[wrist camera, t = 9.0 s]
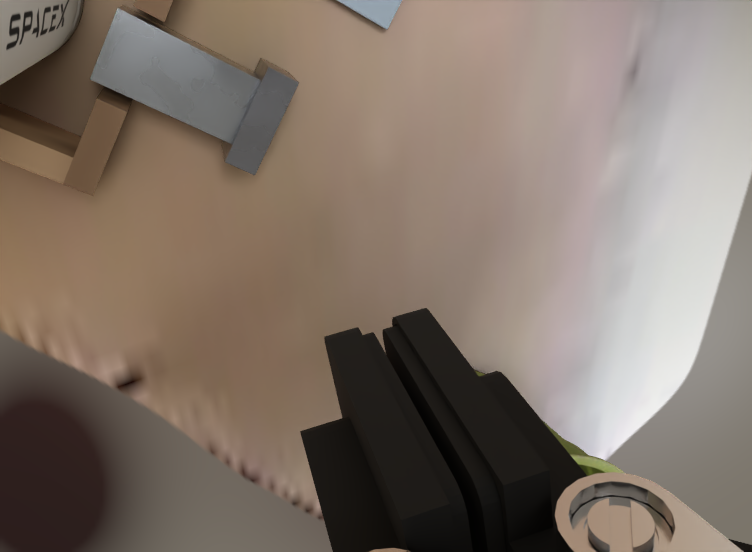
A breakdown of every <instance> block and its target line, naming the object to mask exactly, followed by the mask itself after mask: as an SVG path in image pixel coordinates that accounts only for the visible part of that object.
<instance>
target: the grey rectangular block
mask: <svg viewBox="0 0 752 552" xmlns="http://www.w3.org/2000/svg"><path fill="white" fill-rule="evenodd" d="M90 80H92V81H95V82H97V83H99V84H101V85H103V86H105V87H108V88H110V89H112V90H114V91H116V92H119V93H121V94H123V95H125V96H127V97H130V98H132V99H134V100H136V101H138V102H140V103H143V104H145V105H147V106H149V107H151V108H154V109H156V110H158V111H160V112H162V113H165V114H167V115H169V116H171V117H173V118H175V119H178V120H180V121H182V122H184V123H186V124H189V125H191V126H193V127H195V128H197V129H200V130H202V131H204V132H206V133H208V134H211V135H213V136H215V137H217V138H219V139H221V140H223V142H222V144H221V146H222V151H223V156H224V161H225V162H226V163H228V164H230V165H233V166H235V167H237V168H239V169H242V170H244V171H246V172H248V173H251V174H253V175H255V174H256V172H257V170H258V168H259V166H260V164H261V162H262V159H263V157H264V155H265V153H266V151H267V149H268V147H269V145H270V143H271V141H272V138H273V136H274V134H275V132H276V130H277V128H278V126H279V124H280V122H281V120H282V117H283V115H284V113H285V111H286V109H287V107H288V105H289V103H290V101H291V99H292V96H293V94H294V92H295V90H296V88H297V86H298V84H299V82H298V81H297V80H296V79H295V78H294V77H293V76H292V75H291V74H290V73H289V72H287V71H285V70H283V69H281V68H279V67H277V66H275V65H273V64H272V63H270V62H268V61H266V60H264V59H262V58H261V59H260V61H259V63H258V65H257V67H256V70H255V72H253V71H251V70H249V69H247V68H245V67H243V66H241V65H239V64H237V63H235V62H233V61H231V60H230V59H228V58H226V57H224V56H222V55H220V54H218V53H216V52H214V51H212V50H210V49H208V48H206V47H204V46H202V45H200V44H198V43H196V42H194V41H192V40H190V39H188V38H186V37H185V36H183V35H181V34H179V33H177V32H175V31H173V30H171V29H169V28H167V27H165V26H163V25H161V24H159V23H157V22H155V21H153V20H151V19H149V18H147V17H145V16H143V15H141V14H140V13H138V12H136V11H134V10H132V9H130V8H128V7H126V6H124V5H122V6H120V7H118V8H117V11H116V13H115V16H114V19H113V21H112V24H111V26H110V29H109V31H108V34H107V37H106V39H105V42H104V44H103V47H102V49H101V52H100V55H99V57H98V60H97V62H96V65H95V67H94V70H93V73H92V75H91V78H90Z"/></svg>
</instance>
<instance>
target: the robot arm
mask: <svg viewBox="0 0 752 552" xmlns="http://www.w3.org/2000/svg"><path fill="white" fill-rule="evenodd" d="M392 325H393V327H390V328H386V329H383V340H384V345H385V351H386V354H385V352H384V350H383V348H382V346H381V345H380V343H379V341H378V339H377V337H376V336H375V334H374V333H373V332H372V333H369V334H366V335H362V333H361V331H360V330H359V328H353V329H350V330H346V331H343V332H339V333H336V334H332V335H329V336H325V344H326V349H327V353H328V358H329V362H330V366H331V371H332V375H333V379H334V383H335V388H336V392H337V396H338V401H339V405H340V409H341V413H342V419H339V420H336V421H332V422H329V423H326V424H322V425H319V426H316V427H313V428H309V429H306V430H303V431H300V432H301V436H302V440H303V444H304V447H305V451H306V455H307V458H308V462H309V466H310V469H311V473H312V477H313V480H314V484H315V488H316V491H317V495H318V499H319V502H320V506H321V510H322V513H323V517H324V521H325V524H326V528H327V532H328V535H329V539H330V542H331V547H332V550H333V552H752V545H749V544H745V543H742V542H738V541H734V540H730V539H727V538H726V537H725V536H723V535H722V534H721V533H720V532H719V531H717V530H716V529H715V528H714V527H712V526H711V525H710V524H709V523H707V522H706V521H705V520H704V519H702V518H701V517H700V516H699V515H697V514H696V513H695V512H694V511H692V510H691V509H690V508H689V507H688V506H686V505H685V504H684V503H682V502H681V501H680V500H679V499H678V498H676V497H675V496H674V495H673V494H671V493H670V492H669V491H667V490H666V489H664V488H662V487H661V486H659V485H658V484H656V483H654V482H653V481H650V480H647V479H644V478H642V477H639V476H636V475H632V474H625V473H617V472H609V473H597V474H593V475H590V476H587V475H586V473H585V472H584V471H583V470H582V468H581V467H580V466H579V465H578V464H577V462H576V461H575V460H574V459H573V458H572V456H571V455H570V454H569V453H568V452H567V450H566V449H565V448H564V447H563V445H562V444H561V443H560V442H559V441H558V439H557V438H556V437H555V436H554V435H553V433H552V432H551V431H550V430H549V428H548V427H547V426H546V425H545V424H544V422H543V421H542V420H541V419H540V418H539V416H538V415H537V414H536V413H535V412H534V410H533V409H532V408H531V407H530V405H529V404H528V403H527V402H526V401H525V399H524V398H523V397H522V396H521V395H520V393H519V392H518V391H517V390H516V388H515V387H514V386H513V385H512V384H511V382H510V381H509V380H508V379H507V378H506V377H505V376H504V375H503V374H502V373H501V372H498V371H495V372H492V373H489V374H485V375H482V376H478V375H477V373H476V372H475V371H474V369H473V368H472V367H471V365H470V364H469V363H468V362H467V360H466V359H465V358H464V356H463V355H462V354H461V352H460V351H459V350H458V348H457V347H456V346H455V344H454V343H453V342H452V340H451V339H450V338H449V336H448V335H447V334H446V332H445V331H444V330H443V329H442V327H441V326H440V325H439V323H438V322H437V321H436V319H435V318H434V317H433V315H432V314H431V313H430V311H429V310H428V309H427V308H424V309H420V310H417V311H413V312H410V313H406V314H403V315H399V316H396V317H393V319H392Z"/></svg>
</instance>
